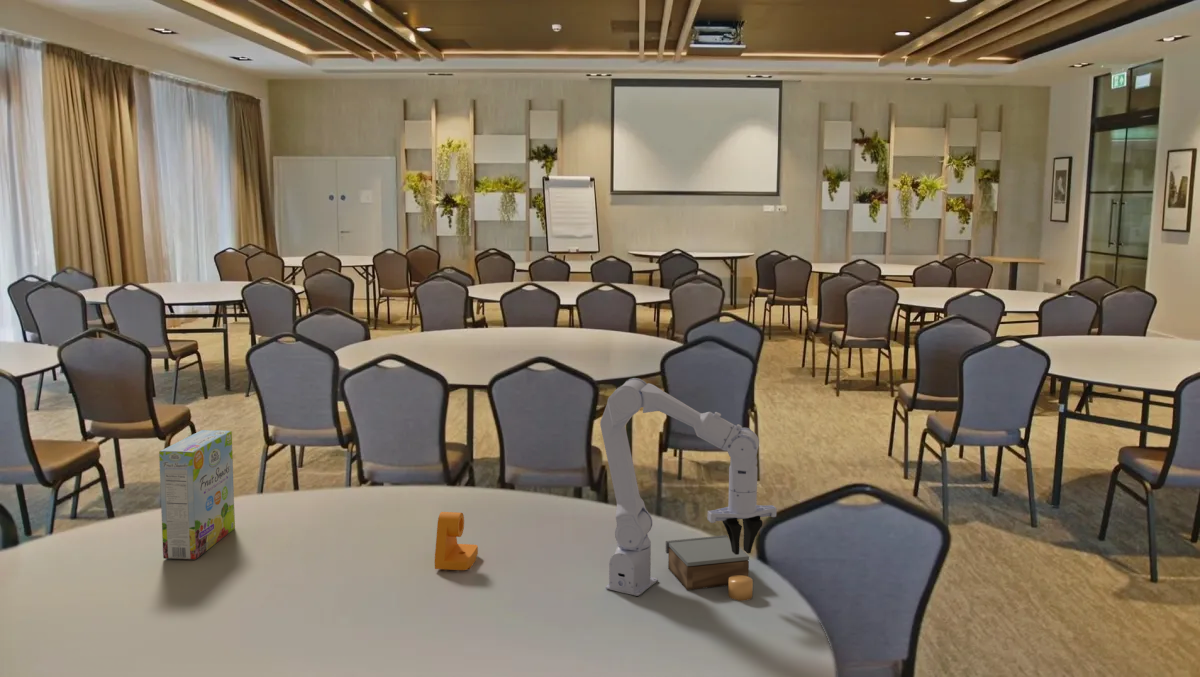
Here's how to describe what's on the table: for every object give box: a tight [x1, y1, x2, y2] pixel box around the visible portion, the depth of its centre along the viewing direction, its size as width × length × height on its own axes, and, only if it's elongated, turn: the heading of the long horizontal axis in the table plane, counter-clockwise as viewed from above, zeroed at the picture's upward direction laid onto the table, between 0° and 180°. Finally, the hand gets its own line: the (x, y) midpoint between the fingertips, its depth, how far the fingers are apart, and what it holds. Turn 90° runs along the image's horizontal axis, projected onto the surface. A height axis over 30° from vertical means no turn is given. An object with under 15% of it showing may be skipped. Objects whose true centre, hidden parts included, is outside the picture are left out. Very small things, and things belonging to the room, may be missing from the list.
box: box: [667, 547, 750, 591], centre depth 200 cm, size 12×14×5 cm
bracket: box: [434, 511, 479, 571], centre depth 207 cm, size 11×7×12 cm, turn 173°
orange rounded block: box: [727, 575, 754, 602], centre depth 190 cm, size 5×5×4 cm
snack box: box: [158, 429, 236, 561], centre depth 218 cm, size 22×9×26 cm, turn 179°
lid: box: [665, 534, 750, 566], centre depth 201 cm, size 13×15×3 cm
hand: (741, 552), depth 189 cm, fingers closed
